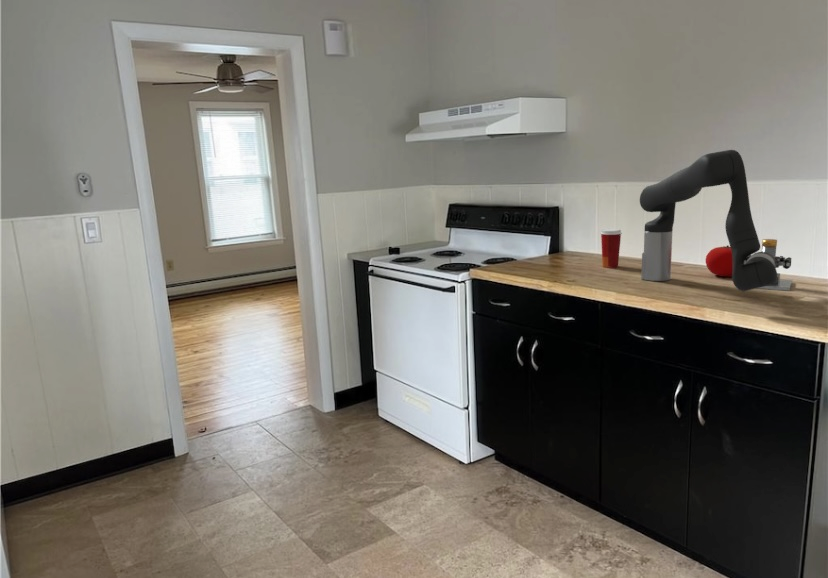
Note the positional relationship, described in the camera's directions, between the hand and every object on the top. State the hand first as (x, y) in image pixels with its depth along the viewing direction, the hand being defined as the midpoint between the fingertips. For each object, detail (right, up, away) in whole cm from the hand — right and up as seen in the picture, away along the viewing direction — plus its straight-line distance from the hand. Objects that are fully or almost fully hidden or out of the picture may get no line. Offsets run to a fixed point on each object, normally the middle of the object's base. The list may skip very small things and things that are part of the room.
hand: (765, 258), depth 190 cm
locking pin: (+6, -7, +10) cm, 14 cm away
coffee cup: (-30, -1, +57) cm, 65 cm away
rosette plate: (+6, -8, +10) cm, 14 cm away
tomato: (+2, -5, +28) cm, 29 cm away
